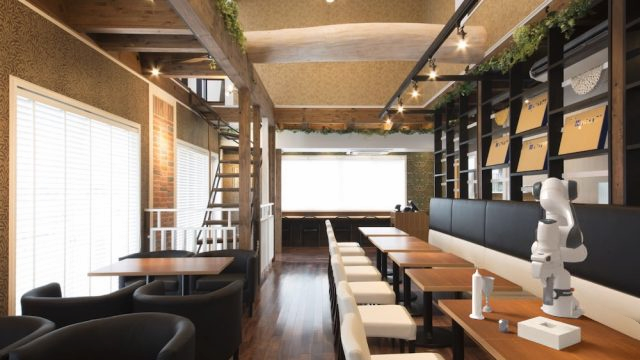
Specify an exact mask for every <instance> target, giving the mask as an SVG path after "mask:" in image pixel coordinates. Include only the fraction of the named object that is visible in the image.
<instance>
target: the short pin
mask: <svg viewBox="0 0 640 360" xmlns="http://www.w3.org/2000/svg"><path fill="white" fill-rule="evenodd" d="M498 332H500V333H505V334H508V333H509V320H508V319H503V318H499V319H498Z"/></svg>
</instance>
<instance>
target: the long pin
mask: <svg viewBox="0 0 640 360" xmlns="http://www.w3.org/2000/svg"><path fill="white" fill-rule="evenodd" d="M546 282H547V283H548V287H546V288H544V287H542V305H543V304H544V305H549V306H552V305H553V274H551V277H547V280H546Z"/></svg>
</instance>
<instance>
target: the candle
mask: <svg viewBox="0 0 640 360" xmlns="http://www.w3.org/2000/svg"><path fill="white" fill-rule="evenodd" d="M482 277H483V276H482V275H481V274H480V273H479V270H478V268H476V271H475V273H473V274H472V280H471V281H472V283H471V284H472V288H471V289H472V292H471V293H472V294H471V295H472V298H471V299H472V300H471V302H472V305H471V307H472V309H471V310H472V311H471V313H470V314H469V317H470V318H471V319H474V320H484V319H485V316H484V315H483V314H482V313H483V311H482V310H483V299H482V298H483V297H482V296H483V294H482V293H483V290H482Z"/></svg>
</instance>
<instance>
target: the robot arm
mask: <svg viewBox="0 0 640 360" xmlns="http://www.w3.org/2000/svg"><path fill="white" fill-rule="evenodd" d="M580 193H581V189H580V186H579V184H578V182H577V181H576V180H572V179H568V180H565V179H559V178H557V177H548V178H546V179H545V180H544V181H536V182H535V183H533V186H532V188H531V194H532V196H533V198H534V200H536V201H539V203H540V207H541V208H542V209H544V210H545V218H544V219H540V220H538V223H537V225H538V226H537V228H536V229H535V230H534V231H535V233H534V236H535V238H534V239H535V240H534V242H533V244H532V246H531V248H530V249H531V255H530V260H531V263H530V264H531V265H530V266H531V267H530V268H531V269H530V270H531V277H532V278H533V279H538V280H540V282H541V287H542V288H543V287H544V288H546V287H548V283H547V282H546V280H547V277H551V274H553V305H552V306H549V305H544V304H543V303H542V306H540V310H542V312H544V314H547V315H549V316H553V317H554V316H555V317H559V318H572V319H579V318H580V317H581V316H583V315H584V314H585V310H583V309H580V301H579V300H578V299H577V298H576V297H575V296H574V295H573V293H574V292H575V291H576V289H575V287H572V286H571V284H572V282H571V280H572V279H571V274H570V272H569V270H567V269H566V268H564V267H565V266H564V262H565V263H580V262H583V261H585V259H586V258H587V256H588V251H587V247H586V246H585V245H584V244H583V241H584V236H583V232H582V231H581V227H580V225H579V224H580V223H579V221H578V217H577V213H576V210H575V207H574V205H573V203H572V201H575V200H576V199H577V198H579V195H580Z"/></svg>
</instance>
